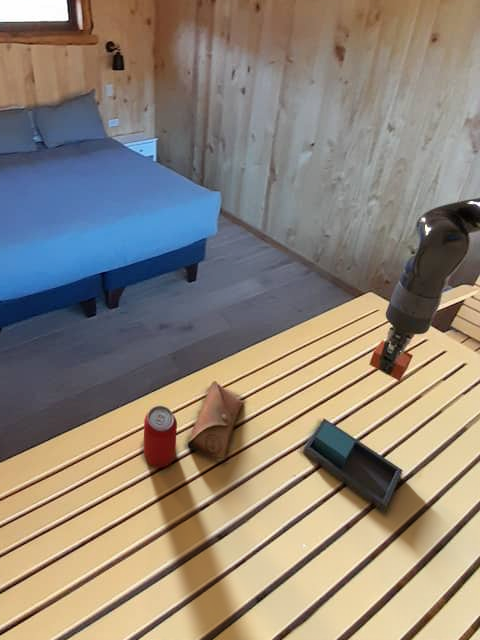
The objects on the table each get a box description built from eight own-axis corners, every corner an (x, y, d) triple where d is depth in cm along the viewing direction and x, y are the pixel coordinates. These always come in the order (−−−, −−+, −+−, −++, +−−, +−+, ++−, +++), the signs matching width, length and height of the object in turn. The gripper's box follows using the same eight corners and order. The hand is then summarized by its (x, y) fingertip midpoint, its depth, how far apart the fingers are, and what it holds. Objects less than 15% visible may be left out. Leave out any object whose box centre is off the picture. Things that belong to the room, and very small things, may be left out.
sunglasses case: (226, 466, 83) (212, 442, 82) (196, 463, 88) (183, 440, 87) (245, 399, 98) (233, 377, 96) (219, 399, 102) (208, 378, 101)
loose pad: (407, 368, 87) (413, 355, 86) (399, 381, 85) (405, 367, 83) (377, 352, 92) (382, 339, 90) (368, 364, 89) (373, 351, 87)
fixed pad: (351, 453, 85) (355, 441, 83) (341, 469, 82) (346, 458, 80) (322, 433, 89) (326, 422, 87) (312, 448, 86) (316, 437, 84)
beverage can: (179, 447, 88) (182, 411, 82) (166, 475, 83) (169, 439, 77) (152, 433, 91) (153, 397, 85) (138, 459, 86) (138, 423, 80)
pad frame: (398, 478, 81) (402, 470, 80) (382, 514, 76) (386, 506, 74) (321, 425, 92) (323, 417, 90) (302, 454, 86) (304, 446, 85)
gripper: (424, 332, 73) (396, 394, 81) (445, 297, 82) (418, 357, 89) (379, 311, 78) (357, 372, 86) (403, 281, 87) (382, 339, 94)
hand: (388, 364), depth 88 cm, fingers closed on loose pad, 5 cm apart
